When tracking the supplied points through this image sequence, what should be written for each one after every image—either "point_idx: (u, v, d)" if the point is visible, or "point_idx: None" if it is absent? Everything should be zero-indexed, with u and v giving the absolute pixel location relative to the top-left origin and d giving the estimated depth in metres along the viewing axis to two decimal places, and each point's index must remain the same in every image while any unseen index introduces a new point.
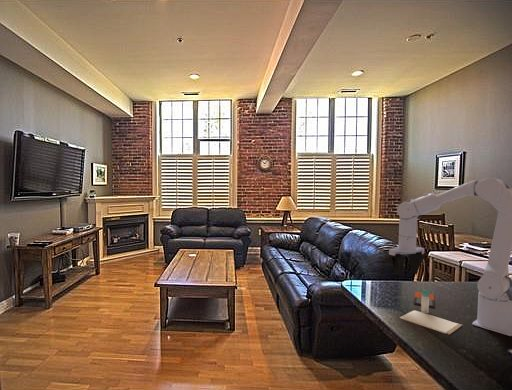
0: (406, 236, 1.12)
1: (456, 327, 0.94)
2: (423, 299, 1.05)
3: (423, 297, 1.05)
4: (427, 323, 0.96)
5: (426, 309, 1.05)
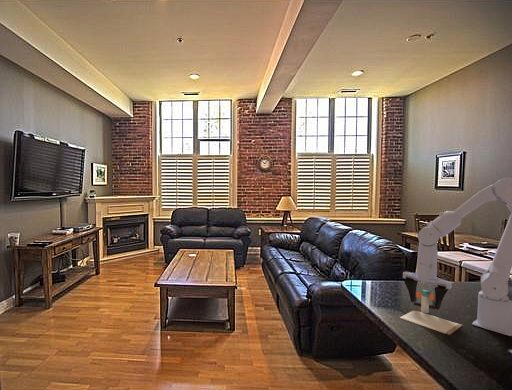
0: (428, 264, 1.03)
1: (456, 327, 0.94)
2: (423, 299, 1.05)
3: (423, 297, 1.05)
4: (427, 323, 0.96)
5: (426, 309, 1.05)
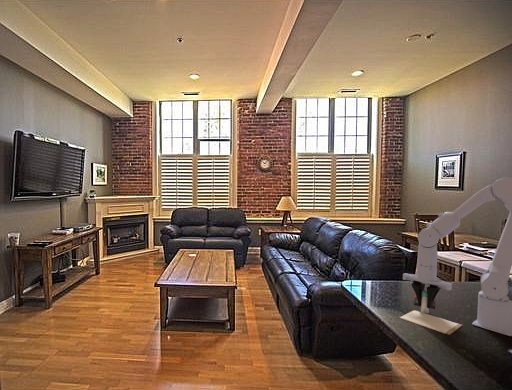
0: (428, 266, 1.03)
1: (456, 327, 0.94)
2: (423, 299, 1.05)
3: (423, 297, 1.05)
4: (427, 323, 0.96)
5: (426, 309, 1.05)
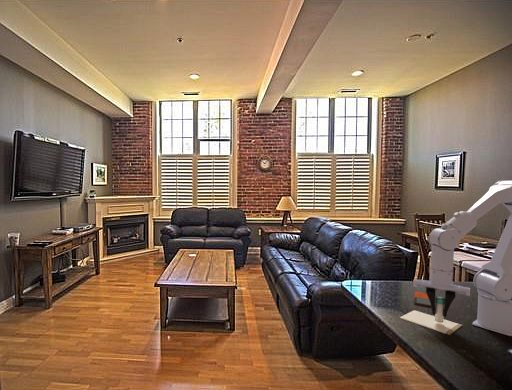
0: (449, 271, 0.93)
1: (456, 327, 0.94)
2: (439, 307, 0.95)
3: (439, 305, 0.95)
4: (427, 323, 0.96)
5: (442, 318, 0.95)
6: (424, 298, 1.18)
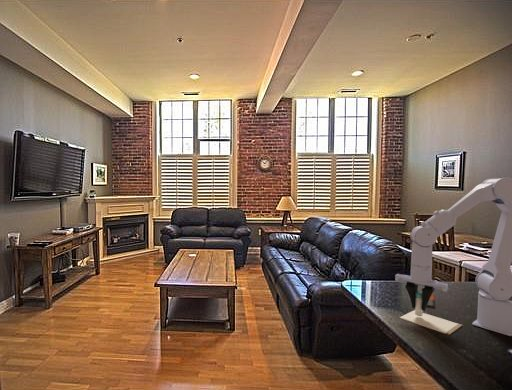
0: (426, 266, 0.98)
1: (456, 327, 0.94)
2: (418, 301, 1.00)
3: (417, 299, 1.00)
4: (427, 323, 0.96)
5: (421, 312, 1.00)
6: None
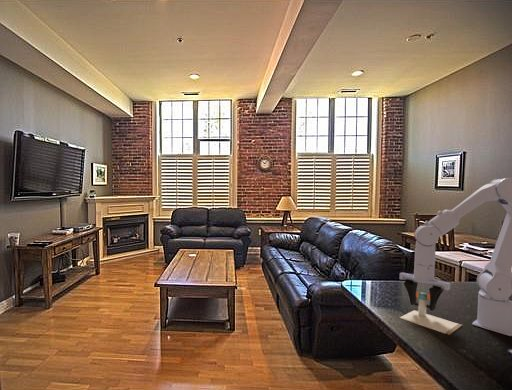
0: (428, 265, 0.99)
1: (456, 327, 0.94)
2: (421, 302, 1.01)
3: (420, 300, 1.02)
4: (427, 323, 0.96)
5: (423, 312, 1.01)
6: None
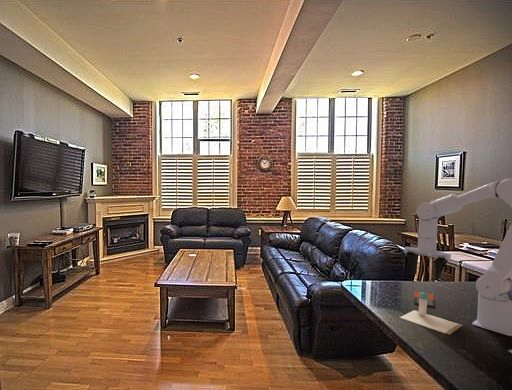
0: (425, 237, 1.10)
1: (456, 327, 0.94)
2: (421, 302, 1.01)
3: (421, 300, 1.02)
4: (427, 323, 0.96)
5: (424, 312, 1.01)
6: None
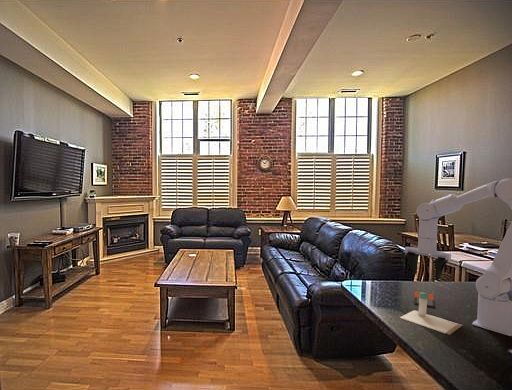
0: (425, 237, 1.10)
1: (456, 327, 0.94)
2: (421, 302, 1.02)
3: (421, 299, 1.02)
4: (427, 323, 0.96)
5: (424, 312, 1.01)
6: None
